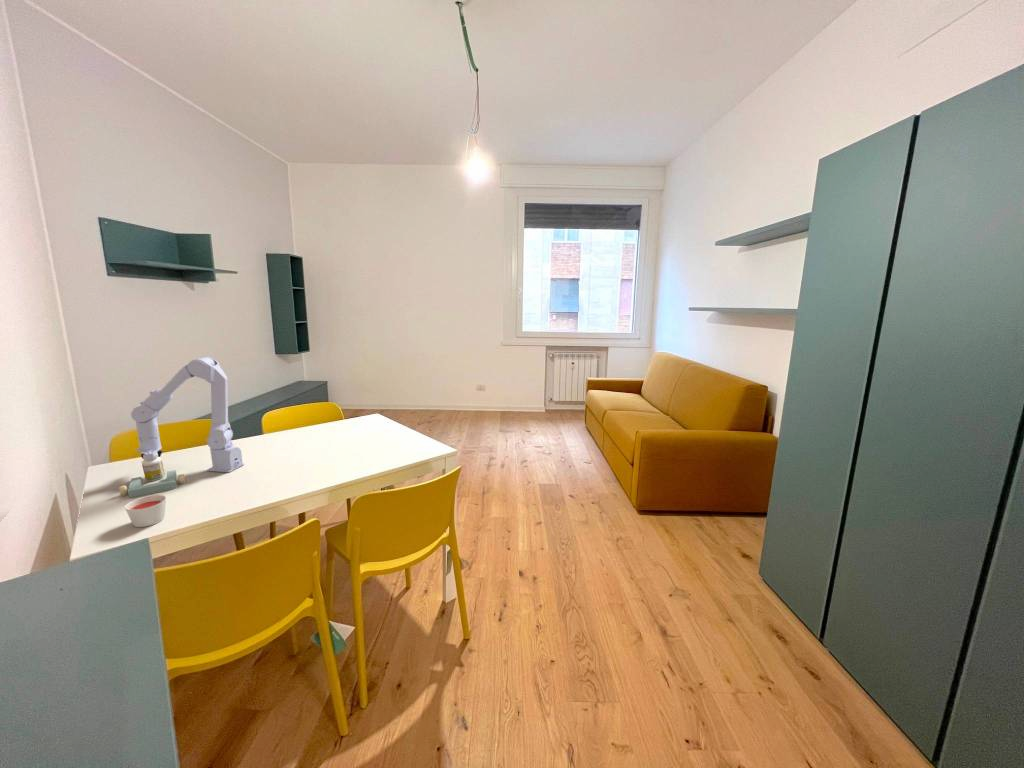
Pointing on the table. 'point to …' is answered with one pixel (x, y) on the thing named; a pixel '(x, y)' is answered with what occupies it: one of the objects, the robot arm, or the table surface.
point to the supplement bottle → (153, 468)
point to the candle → (146, 510)
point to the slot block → (151, 485)
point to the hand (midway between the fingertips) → (154, 470)
